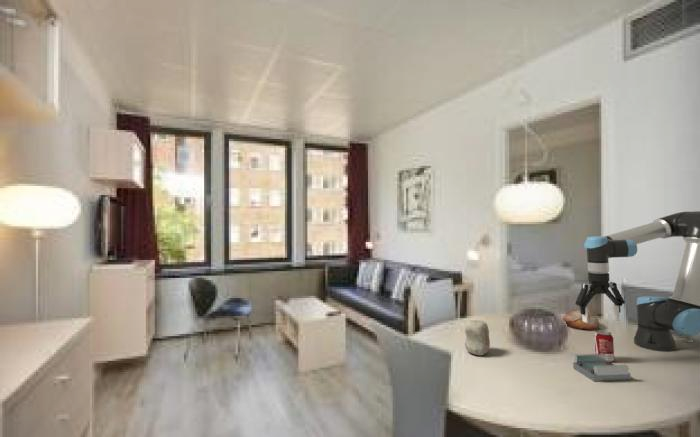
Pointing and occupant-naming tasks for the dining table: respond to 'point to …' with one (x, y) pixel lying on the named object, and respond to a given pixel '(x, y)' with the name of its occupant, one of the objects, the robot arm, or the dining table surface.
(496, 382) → the dining table surface
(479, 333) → the stone
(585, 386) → the dining table surface
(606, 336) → the soda can
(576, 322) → the bread
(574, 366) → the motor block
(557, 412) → the dining table surface
